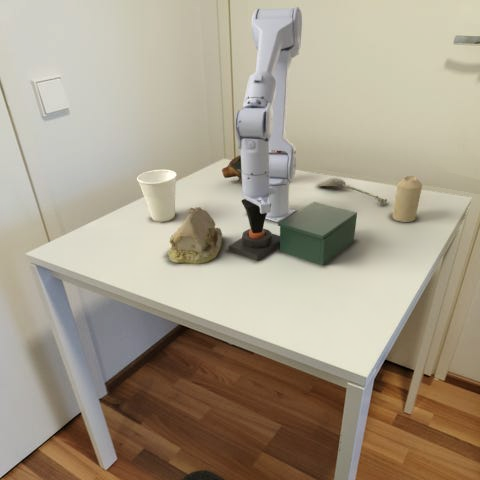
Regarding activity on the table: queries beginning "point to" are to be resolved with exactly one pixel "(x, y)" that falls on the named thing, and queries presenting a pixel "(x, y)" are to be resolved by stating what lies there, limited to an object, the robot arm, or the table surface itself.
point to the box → (317, 243)
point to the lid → (317, 219)
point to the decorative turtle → (233, 169)
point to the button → (257, 234)
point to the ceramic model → (195, 239)
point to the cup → (159, 193)
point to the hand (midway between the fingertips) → (256, 231)
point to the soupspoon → (342, 184)
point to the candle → (407, 199)
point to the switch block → (255, 245)
